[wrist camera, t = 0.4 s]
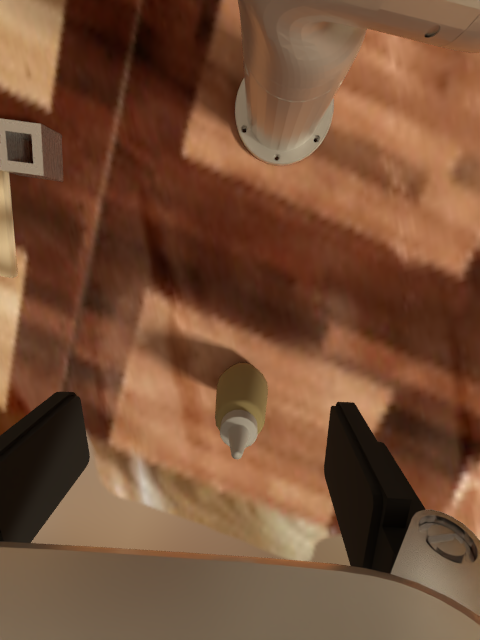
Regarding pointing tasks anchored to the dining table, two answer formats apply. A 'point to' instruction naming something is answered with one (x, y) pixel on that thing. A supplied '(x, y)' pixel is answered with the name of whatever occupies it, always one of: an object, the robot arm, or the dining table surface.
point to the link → (14, 154)
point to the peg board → (6, 230)
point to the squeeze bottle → (240, 406)
